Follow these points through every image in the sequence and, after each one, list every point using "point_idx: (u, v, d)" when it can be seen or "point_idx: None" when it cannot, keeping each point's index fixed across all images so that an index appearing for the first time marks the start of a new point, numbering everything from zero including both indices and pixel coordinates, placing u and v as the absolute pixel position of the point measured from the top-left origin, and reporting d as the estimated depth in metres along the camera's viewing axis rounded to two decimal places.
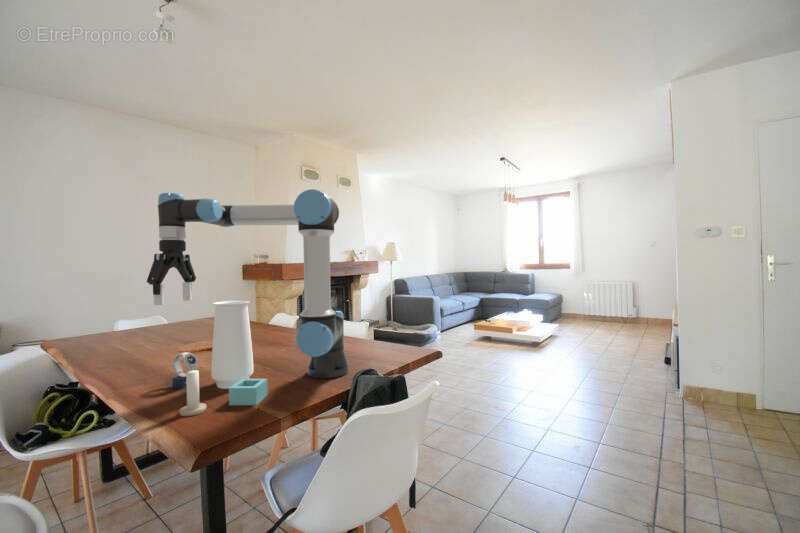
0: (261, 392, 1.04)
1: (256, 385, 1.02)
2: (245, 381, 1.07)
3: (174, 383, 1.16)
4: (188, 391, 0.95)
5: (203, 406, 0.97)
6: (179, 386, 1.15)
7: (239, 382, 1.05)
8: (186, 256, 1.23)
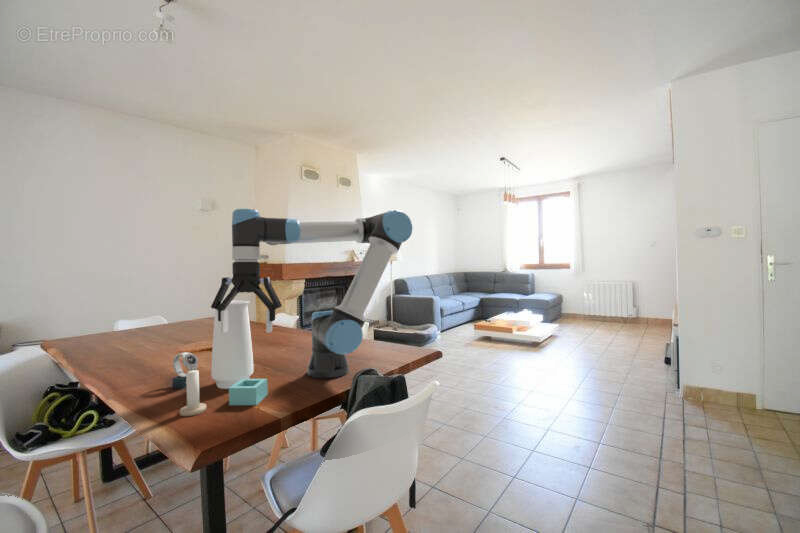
0: (261, 392, 1.04)
1: (256, 385, 1.02)
2: (245, 381, 1.07)
3: (174, 383, 1.16)
4: (188, 391, 0.95)
5: (203, 406, 0.97)
6: (179, 386, 1.15)
7: (239, 382, 1.05)
8: None
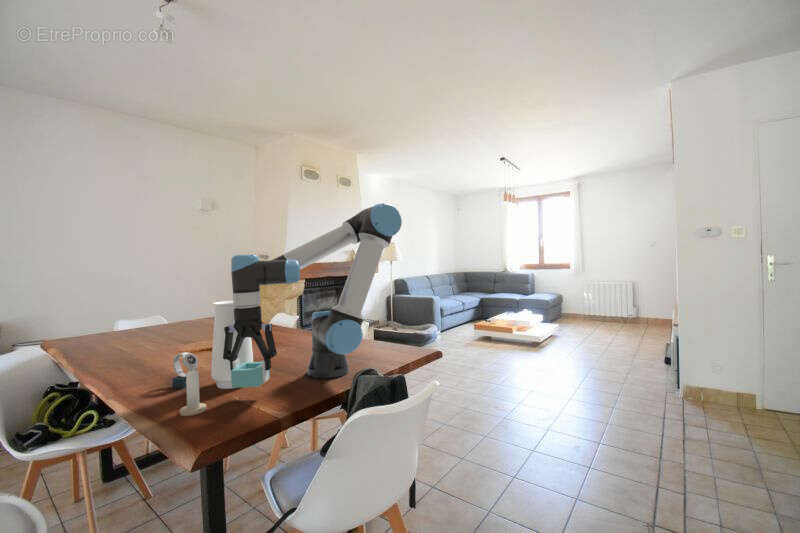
0: None
1: (258, 367, 1.02)
2: (247, 364, 1.07)
3: (174, 383, 1.16)
4: (188, 391, 0.95)
5: (203, 406, 0.97)
6: (179, 386, 1.15)
7: (241, 365, 1.05)
8: None
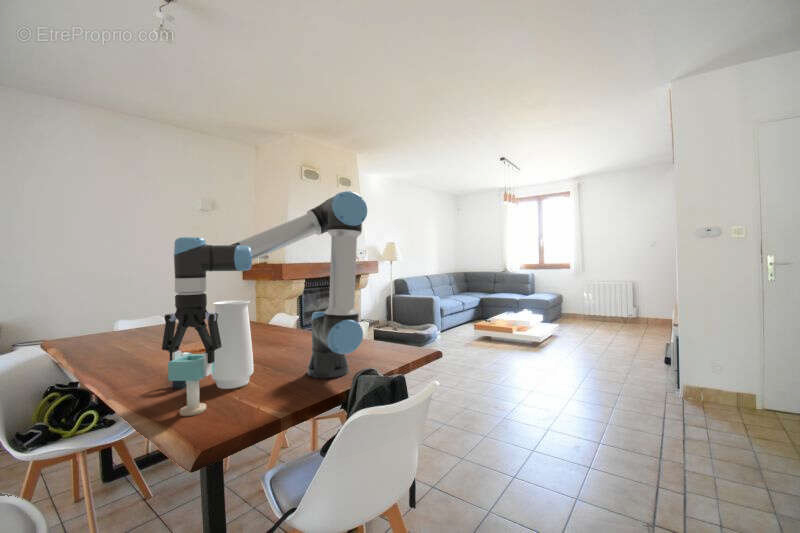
0: None
1: (199, 359, 0.94)
2: (190, 356, 0.99)
3: (174, 383, 1.16)
4: (188, 391, 0.95)
5: (203, 406, 0.97)
6: (179, 386, 1.15)
7: (182, 357, 0.97)
8: None
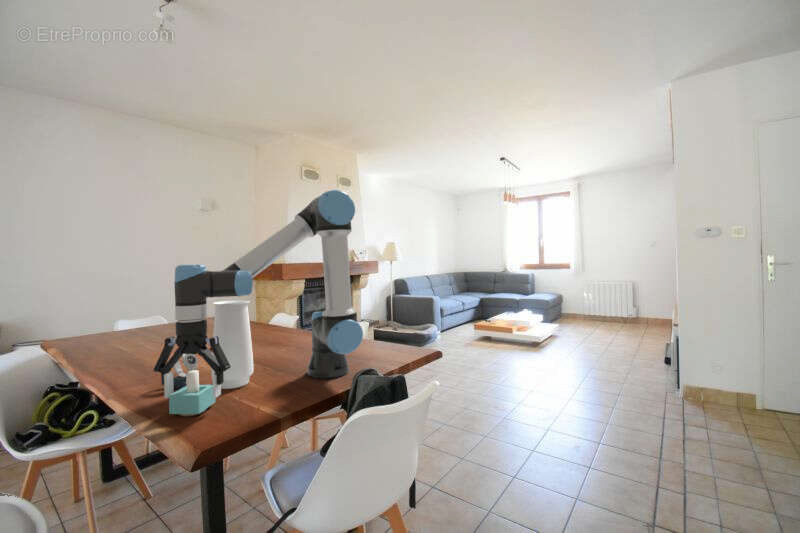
0: (206, 399, 0.96)
1: (200, 392, 0.94)
2: None
3: (174, 383, 1.16)
4: (188, 391, 0.95)
5: None
6: (179, 386, 1.15)
7: (183, 388, 0.97)
8: None
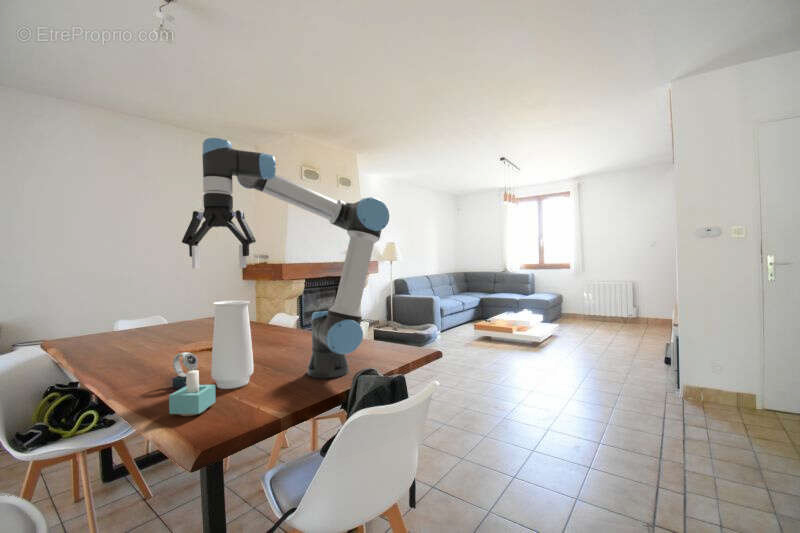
0: (206, 399, 0.96)
1: (200, 392, 0.94)
2: None
3: (174, 383, 1.16)
4: (188, 391, 0.95)
5: None
6: (179, 386, 1.15)
7: (183, 388, 0.97)
8: None
